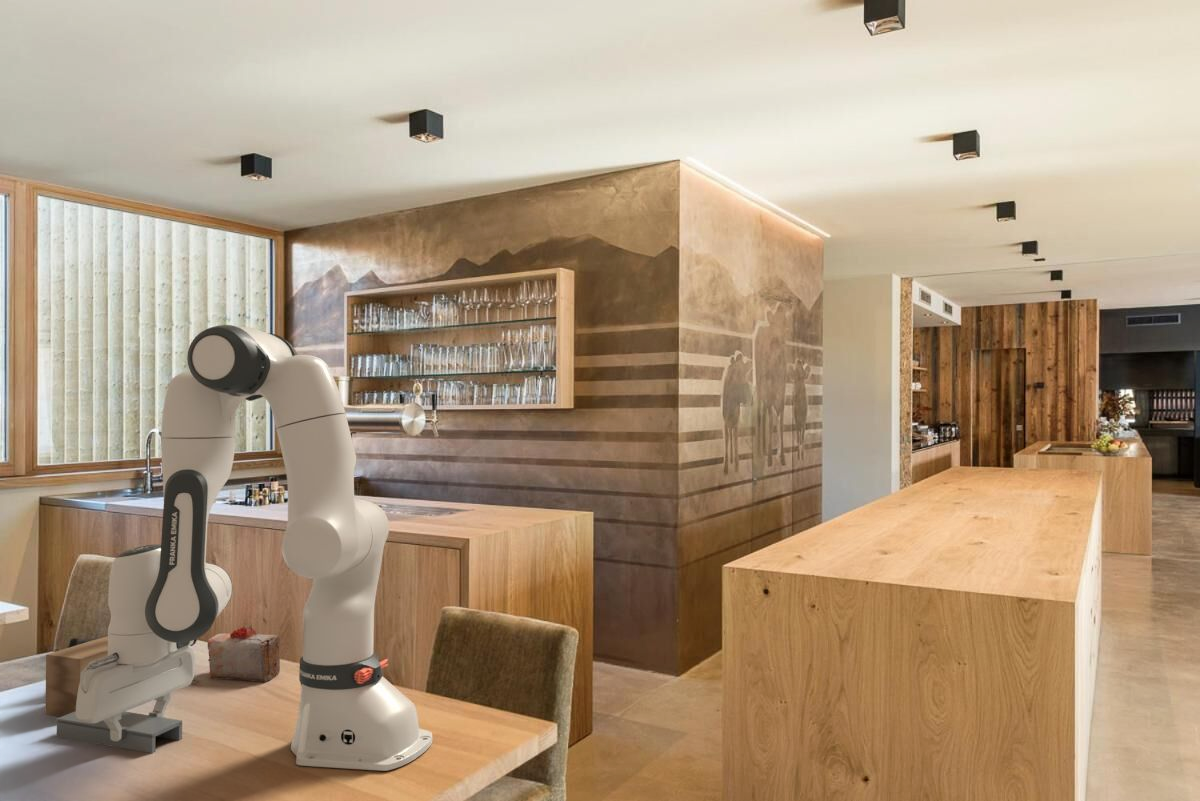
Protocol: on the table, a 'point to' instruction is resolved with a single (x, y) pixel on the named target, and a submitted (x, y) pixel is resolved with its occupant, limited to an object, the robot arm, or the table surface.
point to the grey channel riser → (138, 726)
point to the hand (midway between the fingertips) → (137, 730)
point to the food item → (244, 655)
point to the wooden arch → (69, 674)
